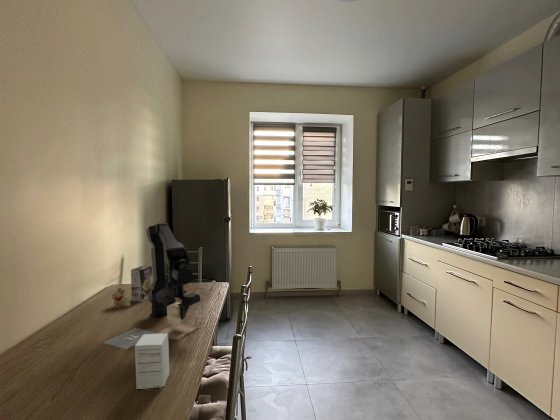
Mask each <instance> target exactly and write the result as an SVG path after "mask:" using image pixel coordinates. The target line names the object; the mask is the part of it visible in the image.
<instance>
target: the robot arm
mask: <svg viewBox="0 0 560 420" xmlns="http://www.w3.org/2000/svg"><path fill="white" fill-rule="evenodd" d="M145 230H146V233H145V234H146V237H147V239H148V242H149V243H150V244H151V246H152V258H153V274H154V279H153V280H152V285H151V290H150V293H149V299H148V302H149V303H150V304H151V313H150V314H149V316H151V317H155V318H162V317H165V316H166V315H167V306H169V305H171V304H173V303H176V302H177V301H176V300H179V301H181V302H179V303H180V304H178V306H179V307H180V314H181V320H183V319H184V318H185V315H186V313H187V312H188V311H189V309H190V306H193V305H195V304H197V303H200V302H201V295H200V294H199V293H194V292H193V293H192V292H190V293H187V290H186V289H185V285H188V284H189V283H191V282H192V280H193V277H194V274H193V272H192V270H191V269H189V268H188V265H190V260H191V259H190V256H189V254H188V251H187V249H186V247H185V246H184V245H183V243H181V242H180V241H178V240H176V238H175V236H174V234H173V233H172V230H171V228H170V225H169V223H167V222H159V223H156V224H154V225H149V226H148V227H147V229H145ZM165 262H166V263H165ZM166 265H167V274H168V276H167V277H168V278H167V277H166ZM187 314H188V313H187Z"/></svg>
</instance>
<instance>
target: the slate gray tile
mask: <svg viewBox="0 0 560 420" xmlns="http://www.w3.org/2000/svg"><path fill="white" fill-rule="evenodd" d="M156 333H157V332H153V331H149V330H145V329H141V328H137V327H134V328H132V329H130V330H128V331H125V332H123V333H121V334H118V335H116V336H115V337H112V338H109V339H107V340H105V341H104V342H102V343H103V344H107V345H111V346H114V347H117V348H119V349H123V350H127V349H129V348H131V347H133V346H135V345H136V344H137V342H138V341H139V340H140V338H141V337H142V336H143V335H144V334H156Z"/></svg>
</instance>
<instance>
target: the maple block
mask: <svg viewBox="0 0 560 420" xmlns="http://www.w3.org/2000/svg"><path fill="white" fill-rule="evenodd" d="M180 303H181V302H177V301H176V302H175V303H173V304H171V305H169V306H167V316H166V317H167V318H166V319H167V325H170V326H172V325H174V326H179V325H181V324H186V322H187V320H188V318H187V314H188V313H186V315H185V318H184V319H183V320H181V314H180V307H179V306H178V304H180Z"/></svg>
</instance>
